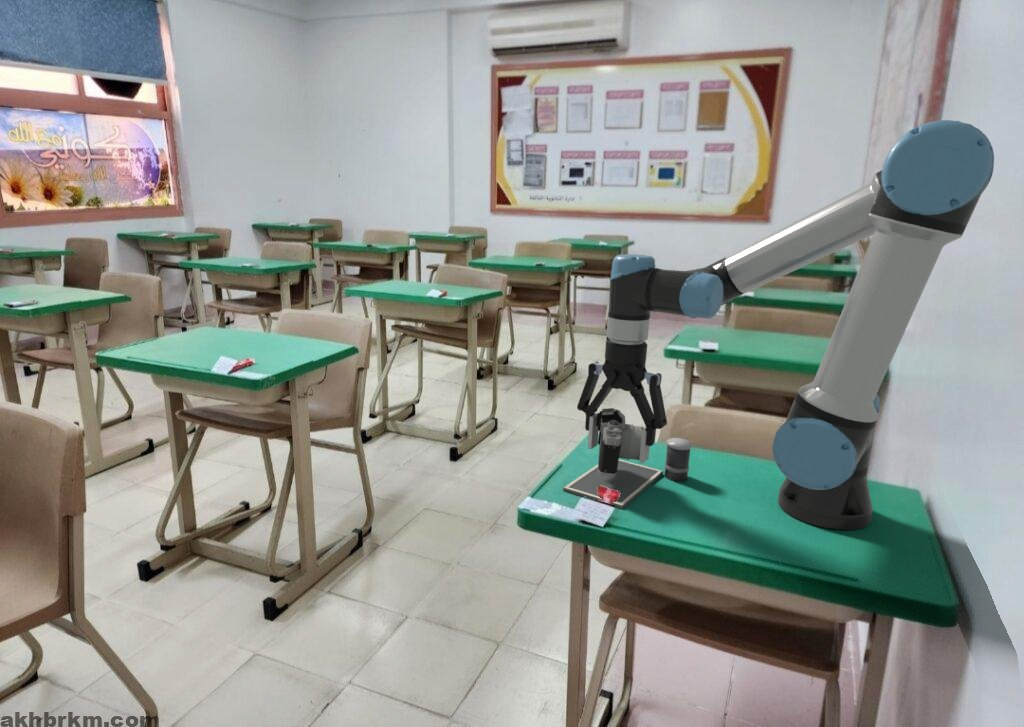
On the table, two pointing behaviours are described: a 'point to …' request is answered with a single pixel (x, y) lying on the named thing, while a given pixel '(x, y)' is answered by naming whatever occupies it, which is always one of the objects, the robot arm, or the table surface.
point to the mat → (616, 482)
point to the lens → (677, 459)
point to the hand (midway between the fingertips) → (617, 453)
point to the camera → (616, 440)
